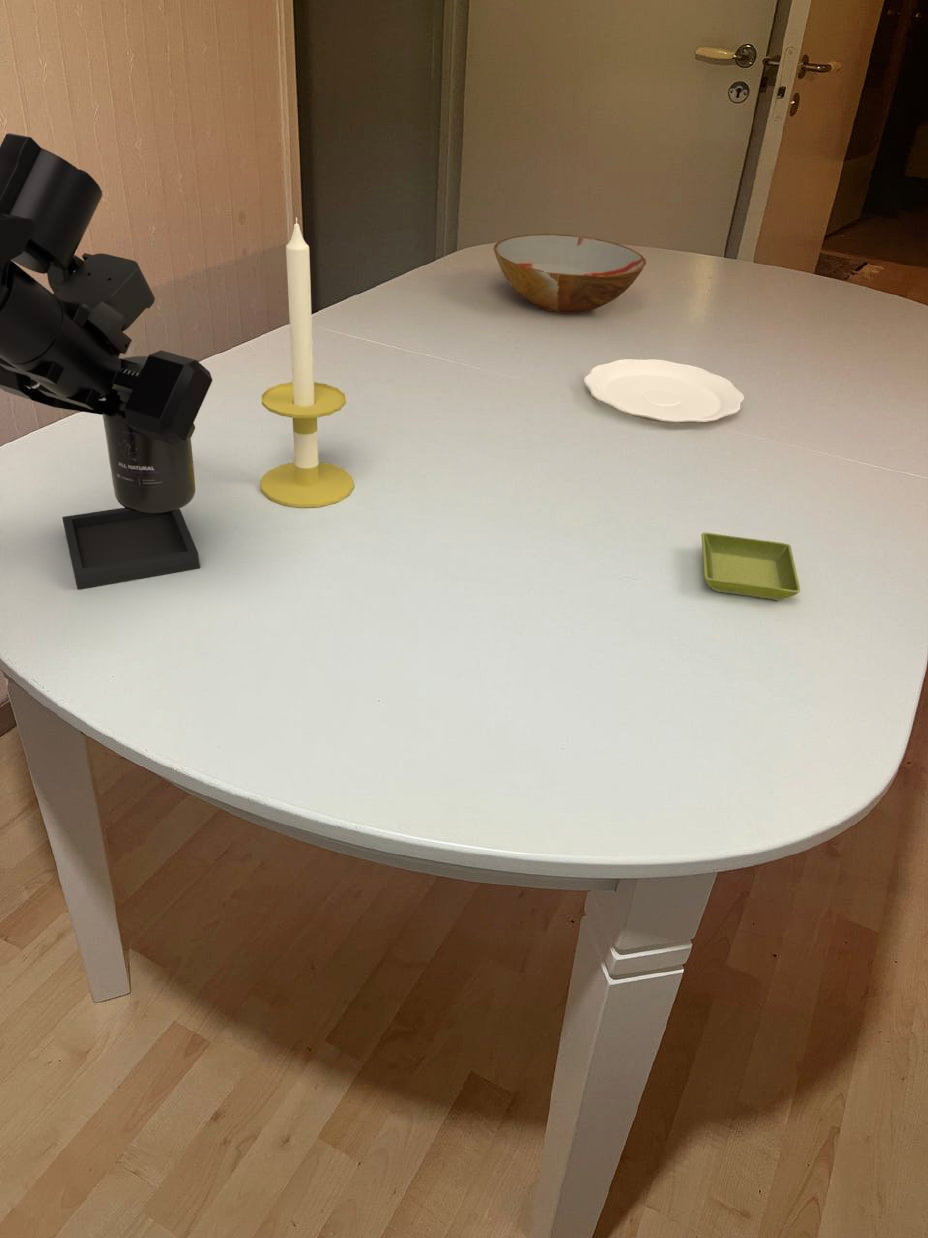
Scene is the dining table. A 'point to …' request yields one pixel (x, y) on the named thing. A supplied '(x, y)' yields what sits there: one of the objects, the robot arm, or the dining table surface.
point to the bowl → (567, 270)
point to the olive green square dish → (749, 567)
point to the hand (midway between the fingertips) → (159, 422)
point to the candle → (303, 402)
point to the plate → (663, 391)
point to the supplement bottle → (145, 462)
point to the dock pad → (127, 546)
